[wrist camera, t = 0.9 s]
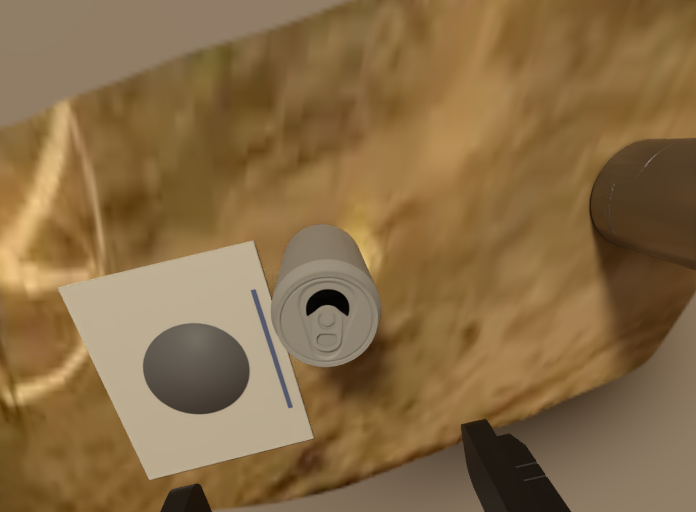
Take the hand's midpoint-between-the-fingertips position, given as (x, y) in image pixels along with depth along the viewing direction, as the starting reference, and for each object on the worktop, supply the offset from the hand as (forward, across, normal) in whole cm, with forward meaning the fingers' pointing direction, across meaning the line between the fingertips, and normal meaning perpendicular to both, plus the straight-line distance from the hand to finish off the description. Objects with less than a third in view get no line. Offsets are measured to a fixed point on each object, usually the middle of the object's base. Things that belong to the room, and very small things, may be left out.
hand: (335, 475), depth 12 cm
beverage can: (+22, 0, 0) cm, 22 cm away
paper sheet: (+22, +13, +7) cm, 26 cm away
